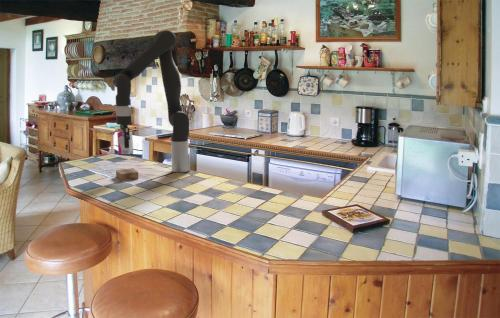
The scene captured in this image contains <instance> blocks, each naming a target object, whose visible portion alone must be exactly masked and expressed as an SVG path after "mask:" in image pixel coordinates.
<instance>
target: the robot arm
mask: <svg viewBox="0 0 500 318" xmlns="http://www.w3.org/2000/svg"><path fill="white" fill-rule="evenodd" d="M176 43H177V37H176V35H175V33H174V32H173V31H171V30H166V29H165V30H160V31H157V33H155V35H154V43H153V44H152V45H151V46H150V47H148V48H147V49H146V50H144V51H143V52H142V53H141V54H139V55H137V57H135V58H134V59H133V60H132V61H130V63H129V64H128V65H127V66H126V67H125V68H124V69H121V71H119V72H118V73H117V74H116V75H115V76H114V77H113V80H112V82H113V85H114V87H115V88H116V92H117V93H116V95H115V118H116V119H115V120H116V121H115V123H116V124H117V125H118V126H119V132H122V136H123V137H124V146H125V148H129V140H130V133H129V132H130V127H129V125H132V124H133V116H132V107H131V106H132V105H131V91H132V80H133V79H135V78H137V77H139V76H140V75H141V74H142V73H143V72H144V71H145V70H146V69H147V68H148V67H150V66H151V64H153V62H155V60H157V59H159V65H160V66H159V67H160V71H161V72H160V73H161V79H162V84H163V89H164V94H165V99H166V105H167V116H168V121H169V124H170V125H171V127H172V134H171V136H170V146H171V149H170V150H171V151H170V152H171V172H173V173H186V172H190V171H191V167H190V165H191V164H190V163H191V162H190V159H191V157H190V153H189V135H190V119H189V118H190V117H189V115H188V114H187V113H185V111H183V110H182V105H181V95H182V94H181V93H182V82H181V77H180V73H179V68H177V66H176V63H175V61H174V58H173V52H172V48H173V47H174V46H175V45H176ZM123 133H124V134H123ZM126 136H128V137H127V138H126Z"/></svg>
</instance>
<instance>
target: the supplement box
mask: <svg viewBox="0 0 500 318" xmlns="http://www.w3.org/2000/svg"><path fill="white" fill-rule="evenodd" d="M129 133H130V140H129V148H125V146H124V137H123V136H122V132H120V131H119V132H117V133H116V134H117V149H118V156H131V155H132V154H134V145H133V131H129ZM123 134H124V133H123ZM127 137H128V136H126V138H127Z"/></svg>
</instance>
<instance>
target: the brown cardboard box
mask: <svg viewBox="0 0 500 318" xmlns="http://www.w3.org/2000/svg"><path fill="white" fill-rule="evenodd" d="M115 177H116V178H117V179H118V180H119V181H120V182H126V181H132V180H138V178H139V171H137V170H136V169H135V168H126V169H117V170H115Z"/></svg>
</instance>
